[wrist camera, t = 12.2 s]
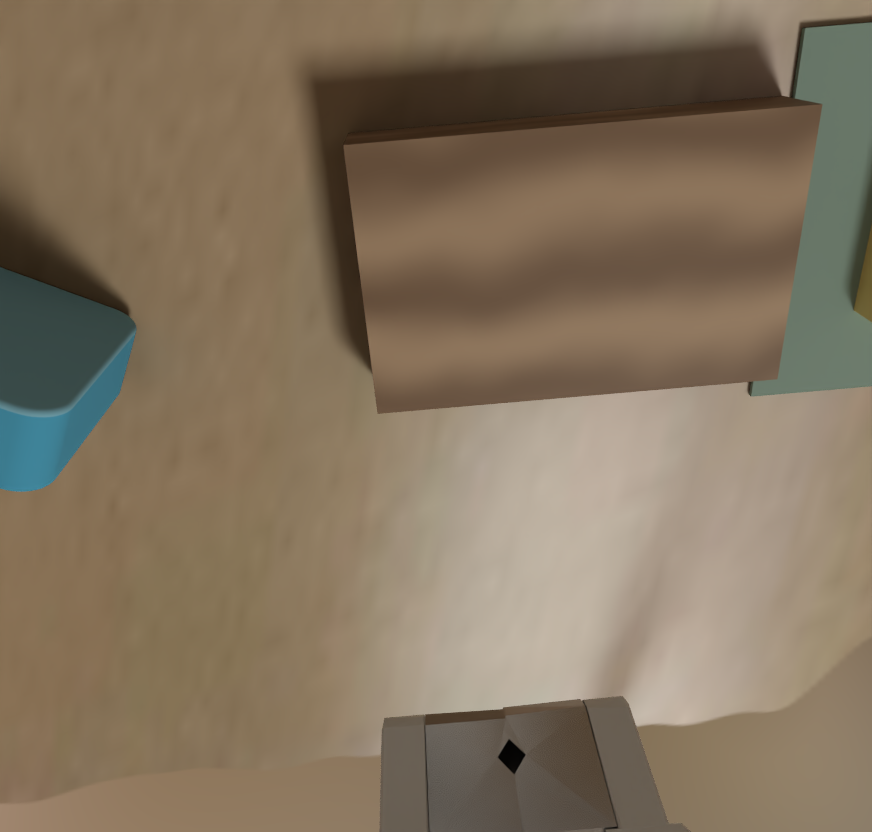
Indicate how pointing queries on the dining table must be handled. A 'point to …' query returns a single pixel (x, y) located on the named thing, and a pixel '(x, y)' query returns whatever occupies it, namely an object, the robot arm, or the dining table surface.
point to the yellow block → (865, 285)
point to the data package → (53, 375)
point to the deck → (580, 250)
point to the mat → (832, 219)
